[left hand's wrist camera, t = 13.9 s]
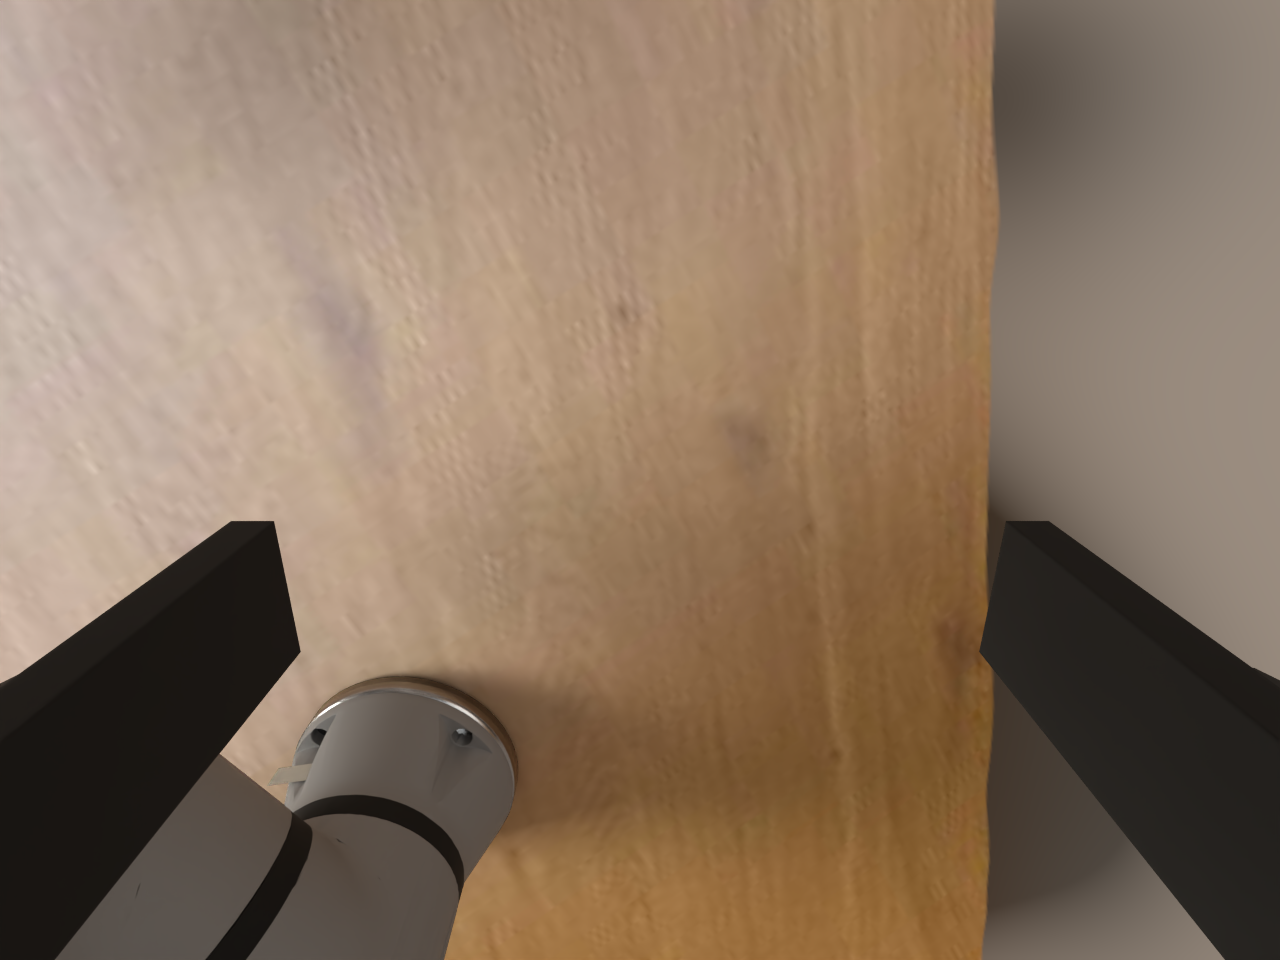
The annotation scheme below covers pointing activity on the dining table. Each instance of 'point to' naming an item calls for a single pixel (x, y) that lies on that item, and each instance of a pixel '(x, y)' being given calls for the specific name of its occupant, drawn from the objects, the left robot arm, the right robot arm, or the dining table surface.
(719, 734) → the dining table surface
